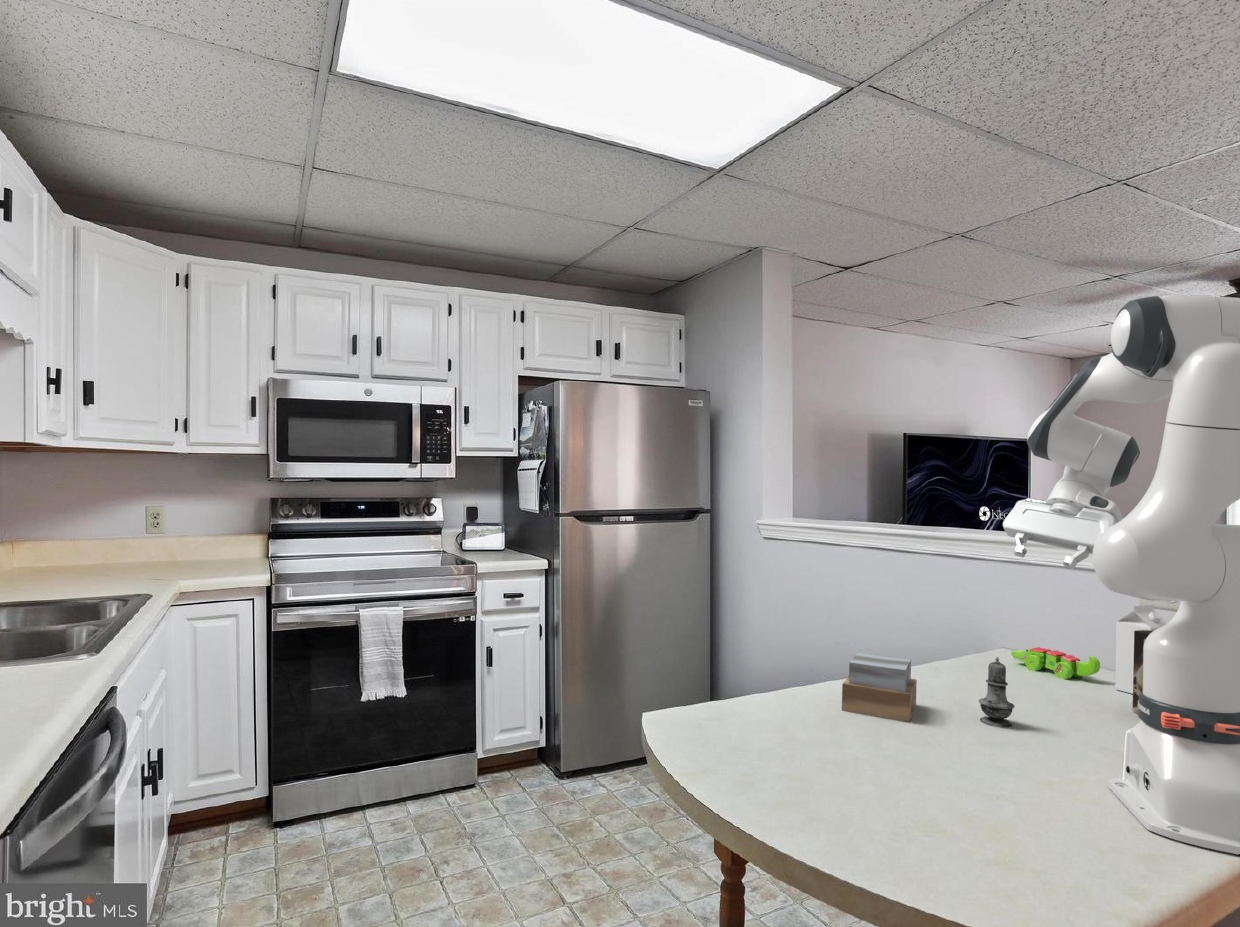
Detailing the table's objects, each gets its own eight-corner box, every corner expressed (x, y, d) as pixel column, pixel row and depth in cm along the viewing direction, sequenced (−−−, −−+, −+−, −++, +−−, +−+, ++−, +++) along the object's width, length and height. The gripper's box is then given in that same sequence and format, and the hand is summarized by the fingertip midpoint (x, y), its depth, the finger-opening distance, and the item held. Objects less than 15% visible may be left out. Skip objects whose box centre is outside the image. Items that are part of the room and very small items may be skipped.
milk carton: (1114, 690, 157) (1116, 603, 158) (1134, 687, 160) (1135, 601, 161) (1150, 699, 151) (1151, 608, 151) (1170, 696, 154) (1171, 607, 154)
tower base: (909, 722, 131) (910, 672, 131) (841, 710, 137) (842, 662, 137) (915, 704, 142) (917, 658, 142) (853, 694, 147) (854, 650, 147)
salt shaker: (1011, 730, 128) (1012, 663, 129) (975, 722, 132) (976, 657, 132) (1016, 722, 133) (1017, 657, 133) (981, 715, 137) (983, 651, 137)
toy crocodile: (1006, 664, 178) (1007, 639, 179) (1025, 662, 181) (1025, 638, 181) (1086, 686, 160) (1086, 658, 161) (1105, 683, 163) (1105, 656, 163)
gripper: (1015, 487, 150) (985, 540, 147) (1124, 504, 133) (1093, 564, 130) (1025, 506, 153) (996, 557, 150) (1133, 524, 136) (1103, 583, 133)
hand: (1042, 560), depth 140 cm, fingers open, 8 cm apart
